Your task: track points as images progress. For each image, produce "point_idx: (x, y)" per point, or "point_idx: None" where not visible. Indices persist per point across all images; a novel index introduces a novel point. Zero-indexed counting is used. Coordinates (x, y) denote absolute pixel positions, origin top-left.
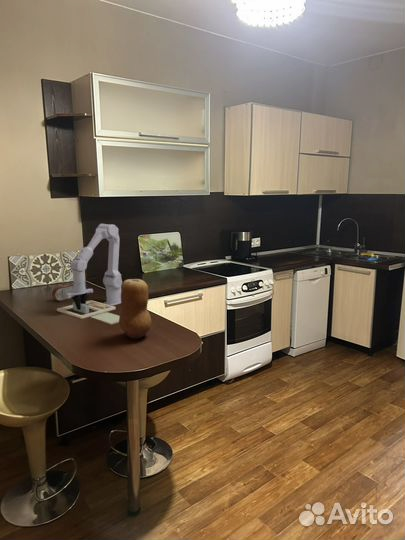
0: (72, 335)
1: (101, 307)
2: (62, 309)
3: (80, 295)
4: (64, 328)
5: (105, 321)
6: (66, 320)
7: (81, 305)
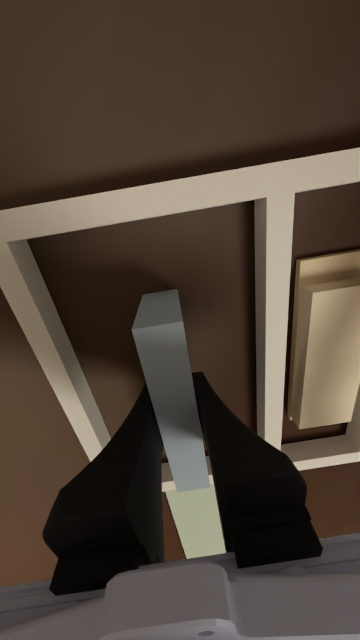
0: (23, 578)
1: (312, 423)
2: (25, 292)
3: (218, 499)
4: (3, 530)
5: (185, 551)
6: (33, 457)
7: (166, 453)
